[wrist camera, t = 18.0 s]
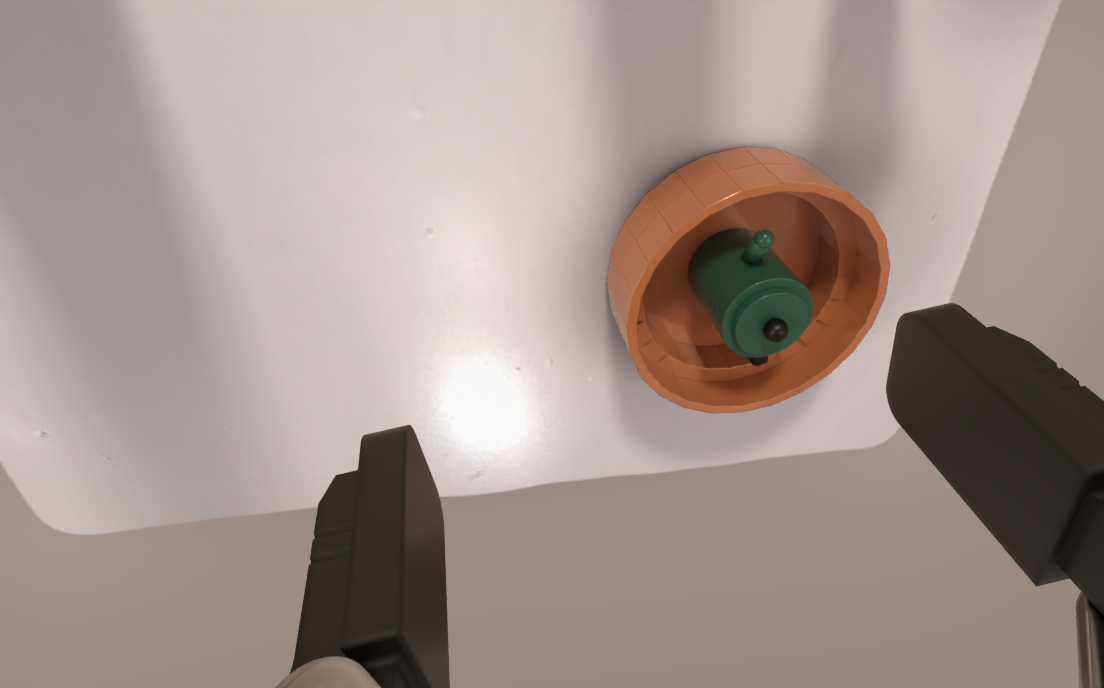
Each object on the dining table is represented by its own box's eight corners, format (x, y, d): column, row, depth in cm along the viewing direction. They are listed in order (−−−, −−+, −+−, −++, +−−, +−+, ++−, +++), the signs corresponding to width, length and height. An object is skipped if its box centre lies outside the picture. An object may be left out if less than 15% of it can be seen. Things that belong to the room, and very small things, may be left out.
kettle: (767, 312, 48) (822, 385, 41) (689, 329, 48) (733, 406, 41) (771, 180, 42) (836, 241, 36) (683, 200, 42) (732, 265, 35)
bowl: (618, 380, 50) (639, 436, 46) (590, 175, 41) (613, 218, 36) (829, 332, 51) (872, 382, 46) (851, 118, 41) (908, 153, 36)
